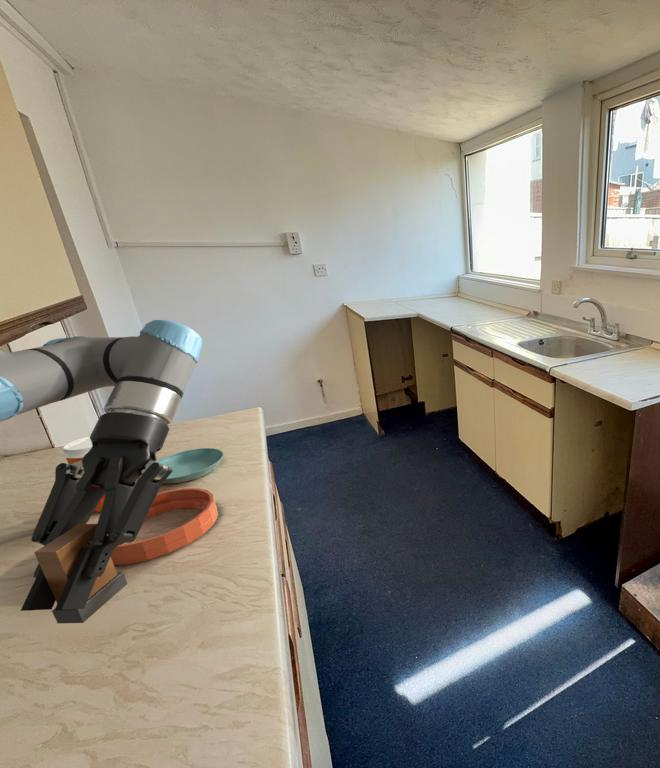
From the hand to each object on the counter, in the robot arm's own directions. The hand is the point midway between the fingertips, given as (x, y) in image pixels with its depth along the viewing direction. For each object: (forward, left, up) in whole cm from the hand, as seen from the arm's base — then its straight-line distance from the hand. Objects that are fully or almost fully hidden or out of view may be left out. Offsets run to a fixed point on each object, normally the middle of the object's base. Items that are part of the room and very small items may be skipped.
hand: (53, 609), depth 46 cm
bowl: (-12, +27, -11) cm, 31 cm away
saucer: (-24, +50, -11) cm, 56 cm away
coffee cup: (-29, +36, -11) cm, 47 cm away
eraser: (0, +4, -3) cm, 5 cm away
